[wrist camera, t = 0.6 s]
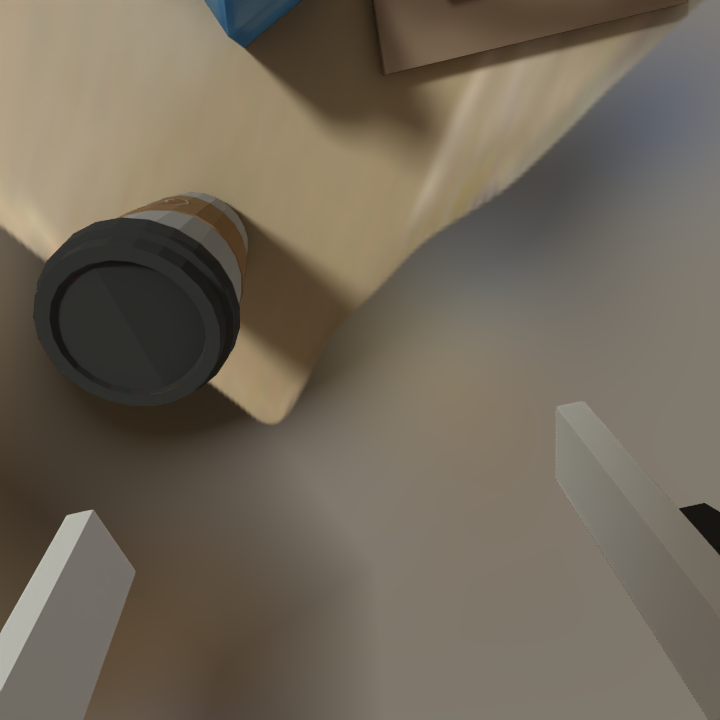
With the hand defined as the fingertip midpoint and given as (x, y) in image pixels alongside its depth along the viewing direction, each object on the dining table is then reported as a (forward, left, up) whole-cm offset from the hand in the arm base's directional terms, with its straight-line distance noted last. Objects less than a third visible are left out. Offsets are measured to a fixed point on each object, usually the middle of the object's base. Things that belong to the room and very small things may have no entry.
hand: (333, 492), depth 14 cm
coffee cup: (-3, -7, -24) cm, 25 cm away
